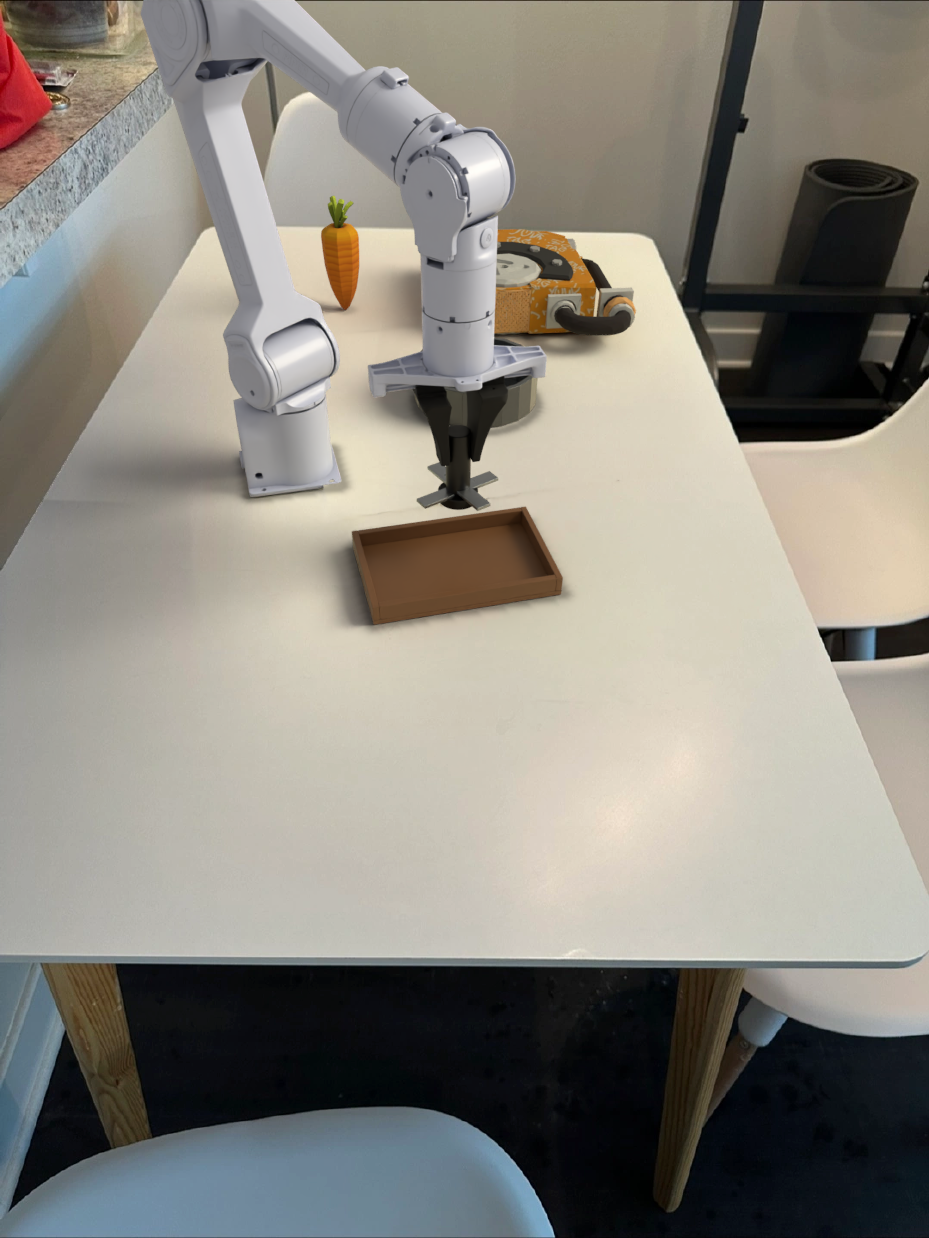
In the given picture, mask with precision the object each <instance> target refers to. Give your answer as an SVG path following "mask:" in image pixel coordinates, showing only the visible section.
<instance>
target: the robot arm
mask: <svg viewBox="0 0 929 1238" xmlns="http://www.w3.org/2000/svg"><path fill="white" fill-rule="evenodd" d="M140 18H141V21H142V23H143V26H144V29H145V33H146V35H147V39H148V42H149V45H150V47H151V50H152V54H153V56H154V60H155V62H156V67H157V69H158V72H159V75H160V78H161V81H162V84H163V87H164V90H165V93H166V95H167V96H168V97H169V98H171V99H172V100H173V104H174V107H175V109H176V113H177V115H178V119H179V122H180V124H181V128H182V132H183V134H184V137H185V139H186V143H187V146H188V150H189V153H190V155H191V159H192V162H193V165H194V167H195V170H196V174H197V177H198V181H199V183H200V186H201V189H202V193H203V195H204V199H205V201H206V204H207V205H206V206H207V208H208V211H209V214H210V217H211V219H212V223H213V227H214V229H215V232H216V236H217V238H218V242H219V244H220V247H221V252H222V254H223V257H224V260H225V263H226V266H227V269H228V273H229V275H230V278H231V282H232V285H233V287H234V290H235V291H234V292H235V294H236V297H237V300H238V305H237V307H236V309H235V311H234V313H233V314H232V316H231V318H230V320H229V322H228V323H227V325H226V327H225V329H224V331H223V333H222V338H223V340H224V343H225V347H226V349H227V350H226V352H227V357H228V359H227V360H228V362H227V363H228V364H227V365H228V366H227V367H228V374H229V378H230V381H231V383H232V386H233V387H234V389H235V391H236V393H238V395H239V396H240V397H239V398H235V399H233V409H234V415H235V420H236V427H237V432H238V438H239V443H240V449H241V450H238V454H239V461H240V462H239V463H240V467H241V469H244V471H245V478H246V483H247V488H248V494H249V497H251V498H256V497H257V498H258V497H263V496H265V497H266V496H270V495H272V496H273V495H279V494H287V493H293V492H303V491H310V490H316V489H324V486H328V485H334V484H335V485H336V484H340V483H341V482H342V477H341V473H340V470H339V466H338V462H337V459H336V454H335V452H334V451H335V450H334V448H333V445H332V441H331V430H330V421H329V420H330V419H329V412H328V411H329V410H328V402H327V392H328V391H329V390H330V389H332V385H331V377H333V376H335V375H336V373H338V371H339V368H340V364H341V354H340V353H341V352H340V348H339V344H338V341H337V339H336V337H335V335H334V333H333V331H332V330H331V329H330V326H329V325H328V324H327V322H326V319H325V317H324V314H323V310H322V307H321V305H320V303H319V302H317V301H316V300H314V299H312V298H310V297H308V296H306V295H304V294H302V293H300V292H298V291H297V290H296V288H295V285H294V282H293V278H292V275H291V271H290V268H289V263H288V261H287V257H286V254H285V251H284V247H283V244H282V239H281V236H280V233H279V230H278V227H277V223H276V220H275V216H274V213H273V209H272V206H271V203H270V199H269V196H268V192H267V189H266V186H265V182H264V178H263V174H262V172H261V169H260V168H261V167H260V165H259V162H258V158H257V154H256V152H255V151H256V150H255V147H254V144H253V141H252V137H251V134H250V131H249V127H248V124H247V120H246V116H245V113H244V110H243V106H242V103H243V100H244V98H245V95H246V93H247V90H248V88H249V85H250V84H251V83H250V82H251V81H252V80H253V79H254V78H255V77H256V76H257V75H258V73H260V71H261V70H262V69H263V68H264V66H265V65H267V63H270V64H271V65H273V66H274V67H275V68H277V69H278V70H279V71H281V72H282V73H283V74H285V75H286V76H288V77H289V78H290V79H292V80H293V81H294V82H296V83H297V84H299V85H300V86H301V87H302V88H304V89H305V90H306V91H308V92H309V93H310V94H312V95H313V96H314V97H316V98H317V99H319V100H320V101H321V102H322V103H324V104H325V105H327V106H328V107H329V108H331V109H332V110H334V111H335V112H336V113H337V124H338V128H339V129H338V130H339V133H340V135H341V137H342V139H343V140H344V141H345V142H346V143H347V144H349V145H350V146H351V147H352V148H354V150H356V151H357V152H358V153H359V154H360V155H361V156H362V157H364V159H366V160H367V161H368V162H369V163H371V164H372V165H373V166H374V167H375V168H376V169H377V170H378V171H380V172H381V173H382V174H383V175H384V176H385V177H387V179H389V180H390V181H392V183H393V184H395V186H397V187H398V188H399V190H400V196H401V200H402V203H403V207H404V209H405V211H406V213H407V214H406V215H408V217H409V219H410V221H411V223H412V227H413V232H414V246H416V247H417V252H418V253H419V254H420V255H419V258H420V291H421V292H420V296H421V299H420V301H421V340H422V341H421V342H422V349H423V351H421V350H420V351H421V352H420V351H417V352H415V353H412V354H408V355H405V356H402V357H397V358H395V359H391V360H387V361H385V362H378V363H372V364H368V365H367V376H368V377H367V378H368V388H369V390H370V394H371V395H372V397H373V398H374V399H375V398H383V397H386V396H387V393H390V392H391V393H393V392H399V391H407V390H413V393H414V396H415V395H416V397H417V399H418V402H419V404H420V406H421V408H422V410H423V412H424V413H423V412H422V413H423V415H425V417H426V420H427V422H428V426H429V427H430V430H431V434H432V438H433V442H434V448H435V454H436V455H435V456H436V458H437V461H438V462H440V464H441V466H445V467H446V466H449V464H450V449H449V427H450V425H449V424H450V415H451V409H452V406H451V405H450V403H449V401H448V399H447V391H446V390H445V388H444V386H447V387H456V389H457V390H458V391H461V392H465V391H466V394H467V427H468V428H470V430H471V463H478V462H480V461H481V457H482V454H483V450H484V447H485V443H486V441H487V438H488V436H489V433H490V430H491V429H492V428H491V426H492V424H493V422H494V421H495V419H496V417H497V415H498V414H499V412H500V411H501V409H502V408H503V407H504V406H505V404H506V403H507V399H508V389H507V388H506V386H505V384H504V380H505V378H509V377H517V376H526V375H531V376H532V377H533V378H537V379H540V378H545V377H546V373H547V362H548V361H547V360H548V356H547V354H546V353H545V352H544V351H545V350H543V348H542V347H541V346H540V345H531V346H529V345H528V346H526V345H525V346H524V347H519V346H497V345H494V337H495V334H494V326H495V297H496V266H497V234H498V230H499V229H498V227H499V215H497V214H498V213H499V212H501V211H503V210H504V209H506V207H507V206H508V205H509V204H510V202H511V200H512V198H513V196H514V193H515V189H516V181H517V179H516V177H517V175H516V168H515V164H514V160H513V157H512V155H511V152H510V151H509V148H508V147H507V146H506V144H505V143H504V142H503V141H502V140H501V139H500V138H499V137H498V135H497V133H496V132H495V131H494V130H493V129H491V128H489V127H486V126H474V127H471V128H469V127H465V126H464V125H462V123H458V124H457V120H456V119H455V118H454V117H453V116H452V115H451V114H450V113H449V112H448V111H447V112H446V111H445V112H442V111H441V110H440V109H439V108H437V106H435V105H434V104H433V103H432V102H430V101H429V100H428V99H427V98H426V97H425V96H424V95H422V94H421V93H420V92H419V91H417V90H416V89H415V88H414V87H413V86H411V85H410V84H409V80H410V76H409V75H408V74H407V73H405V72H404V71H403V70H402V69H401V68H400V67H398V66H395V67H391V68H389V67H387V66H383V65H379V66H378V65H377V66H372V67H370V68H368V69H365V68H364V67H363V66H362V65H361V64H360V62H358V61H357V60H356V59H355V58H354V57H353V56H352V55H351V54H350V53H349V52H348V51H347V50H346V49H344V47H343V46H342V45H341V44H340V43H339V42H338V41H336V39H335V38H334V37H332V36H331V34H329V32H328V31H327V30H326V29H324V27H323V26H322V25H320V23H319V22H317V21H316V20H315V19H314V18H313V17H312V16H311V15H310V14H309V13H308V12H307V11H306V10H305V9H304V8H303V7H302V6H301V5H300V4H299V3H298V2H297V1H296V0H143V1H142V5H141V10H140Z"/></svg>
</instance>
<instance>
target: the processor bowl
mask: <svg viewBox="0 0 929 1238" xmlns="http://www.w3.org/2000/svg"><path fill="white" fill-rule="evenodd" d="M494 345H497V346H519V347H525V346H524V345H523V344H521V343H519V342H515V341H512V340H510V339H507V338H502V337H497V336H494ZM421 351H423V348H422V349H421V350H420V351H419V352H421ZM504 384H505V386H506V388H507V389H508V399H507V403H506V404H505V406H504V407H503V408H502V409H501V411H500V412H499V414H498V415H497V417H496V419H495V421H494V422H493V424H492V426H491V428H490V429H494V428H499V427H505V426H508V425H511V424H513V423H517V422H518V421H520V420H522V419H524V418H526V417H527V416H528V415H529V414H530V413H531V412H532V411H533V409H534V408H535V406H536V404H537V390H538V378H533V377H532V376H531V375H526V376H517V377H509V378H505V380H504ZM444 388H445V390H446V391H447V399H448V401H449V403H450V405H451V406H452V409H451V415H450V424H449V427H450V426H453V425H464V426H467V394H466V391H465V392H461V391H458V390H457V389H456V387H447V386H444ZM414 400H415V404H416V405H417V408H418V409H419V410H420V411H421V412H422V413H423V414H424V412H423V410H422V408H421V406H420V404H419V402H418V399H417V397H416V395H415V394H414Z"/></svg>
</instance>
